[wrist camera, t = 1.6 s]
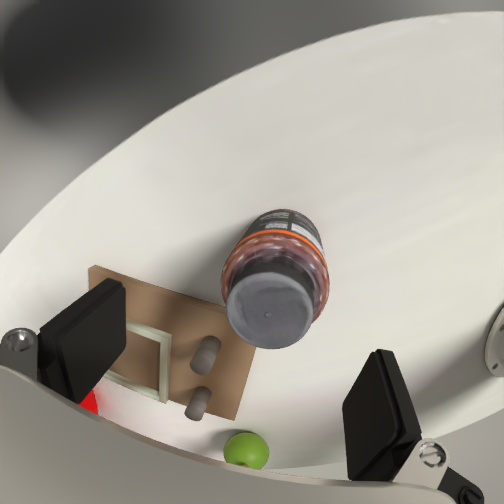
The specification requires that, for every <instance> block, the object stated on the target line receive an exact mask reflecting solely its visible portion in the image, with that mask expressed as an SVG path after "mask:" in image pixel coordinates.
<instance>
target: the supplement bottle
mask: <svg viewBox="0 0 504 504" xmlns="http://www.w3.org/2000/svg"><path fill="white" fill-rule="evenodd" d="M221 292H222V296H223V299H224V302H225V305H226V316H227V319H228V322H229V324H230V326H231V328H232V329H233V331H234V332H235V333H236V334H237V335H238V336H239V337H240V338H241V339H243V340H244V341H245V342H247V343H249V344H251V345H253V346H255V347H259V348H264V349H280V348H284V347H287V346H290V345H292V344H294V343H296V342H297V341H299V340H300V339H301V338H302V337H303V336H304V335H305V334H306V332H307V331H308V329H309V328H310V326H311V324H312V323H313V322H314V321H315V320H316V319H317V318H318V317H319V315H320V314H321V312H322V311H323V309H324V307H325V304H326V302H327V299H328V296H329V275H328V270H327V265H326V260H325V256H324V252H323V247H322V243H321V239H320V235H319V233H318V231H317V229H316V227H315V226H314V224H313V223H312V222H311V221H310V220H309V219H308V218H307V217H305V216H304V215H302V214H301V213H299V212H297V211H293V210H288V209H277V210H273V211H270V212H267V213H265V214H263V215H262V216H260V217H259V218H258V219H257V220H256V221H255V222H254V223H253V224H252V225H251V226H250V228H249V229H248V231H247V232H246V233H245V235H244V236H243V237H242V239H241V240H240V241H239V243H238V244H237V245H236V247H235V248H234V250H233V251H232V253H231V254H230V256H229V257H228V259H227V261H226V263H225V265H224V267H223V271H222V275H221Z"/></svg>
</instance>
